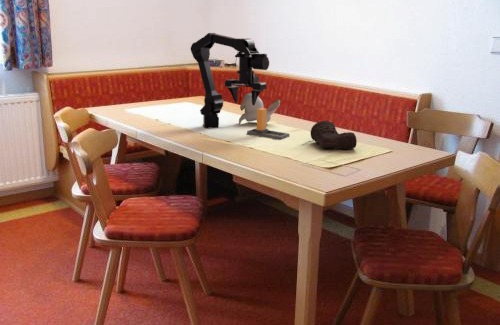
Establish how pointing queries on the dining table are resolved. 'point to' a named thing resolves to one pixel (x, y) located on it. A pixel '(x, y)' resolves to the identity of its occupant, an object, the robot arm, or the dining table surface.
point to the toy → (252, 109)
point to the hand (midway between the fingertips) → (244, 104)
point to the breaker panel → (283, 135)
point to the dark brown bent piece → (332, 136)
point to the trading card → (333, 172)
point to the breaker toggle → (261, 121)
